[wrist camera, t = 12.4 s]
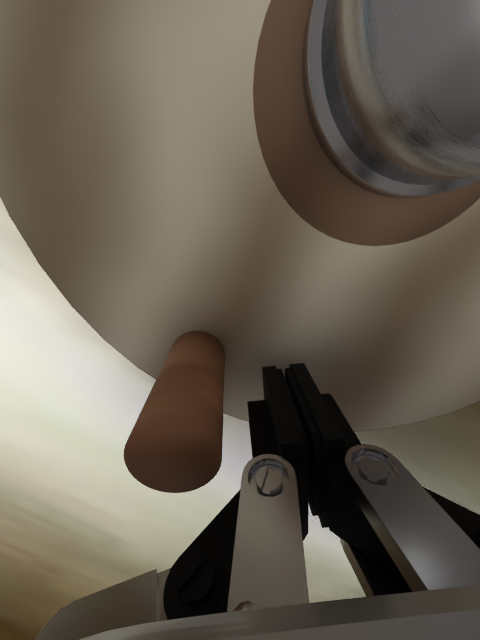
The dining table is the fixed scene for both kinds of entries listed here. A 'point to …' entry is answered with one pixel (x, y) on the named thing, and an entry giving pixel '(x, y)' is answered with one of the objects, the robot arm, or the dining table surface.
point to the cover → (396, 92)
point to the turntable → (224, 223)
